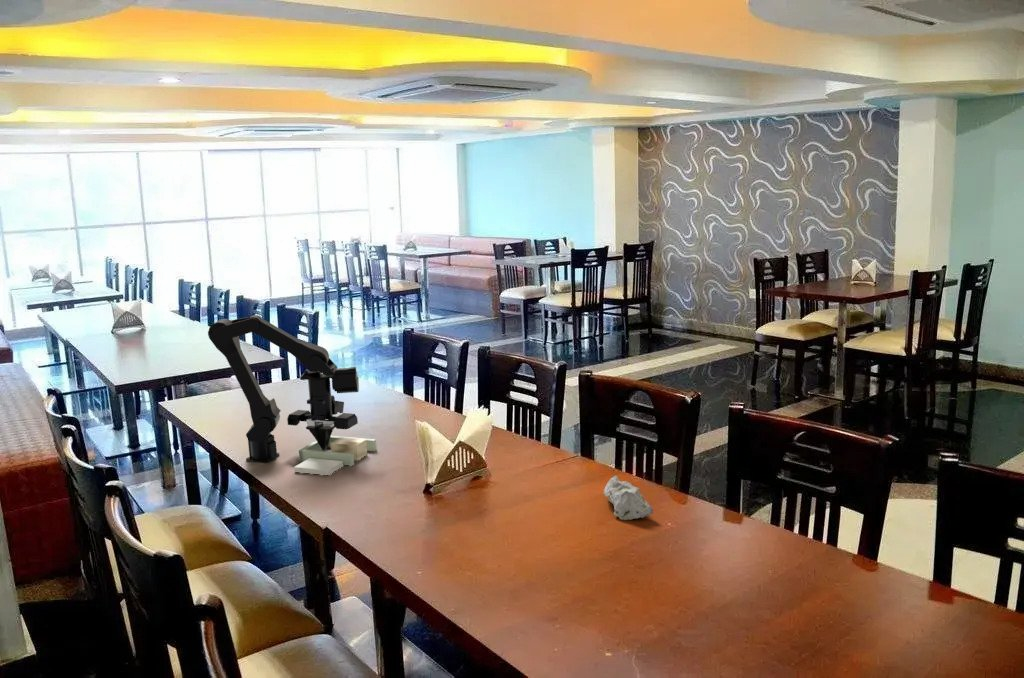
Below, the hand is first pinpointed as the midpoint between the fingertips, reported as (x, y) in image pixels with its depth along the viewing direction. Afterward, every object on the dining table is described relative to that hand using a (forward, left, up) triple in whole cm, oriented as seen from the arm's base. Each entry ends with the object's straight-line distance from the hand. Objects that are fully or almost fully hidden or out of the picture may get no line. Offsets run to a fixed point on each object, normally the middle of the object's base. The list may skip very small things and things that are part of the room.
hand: (324, 449), depth 222 cm
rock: (+86, -17, -2) cm, 87 cm away
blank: (+8, 0, -2) cm, 8 cm away
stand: (+5, -11, -1) cm, 12 cm away
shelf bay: (+5, 0, -1) cm, 5 cm away
